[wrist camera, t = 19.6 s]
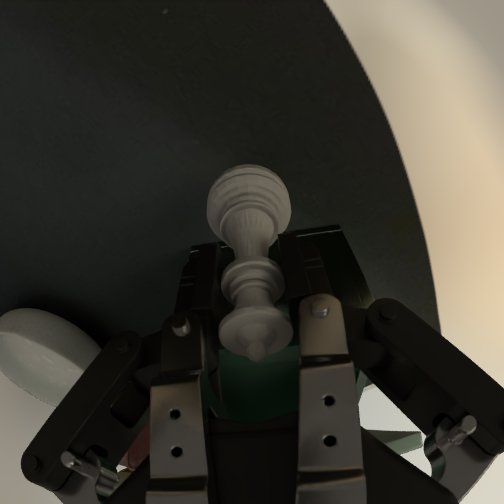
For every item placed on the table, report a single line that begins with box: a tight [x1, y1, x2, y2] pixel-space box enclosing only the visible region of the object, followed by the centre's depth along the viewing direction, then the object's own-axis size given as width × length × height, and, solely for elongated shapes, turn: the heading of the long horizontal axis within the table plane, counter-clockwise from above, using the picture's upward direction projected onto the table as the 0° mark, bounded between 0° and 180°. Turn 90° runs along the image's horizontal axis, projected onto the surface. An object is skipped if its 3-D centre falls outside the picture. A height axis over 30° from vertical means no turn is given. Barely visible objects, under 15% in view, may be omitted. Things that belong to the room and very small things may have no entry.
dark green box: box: [189, 225, 375, 424], centre depth 24 cm, size 18×12×10 cm, turn 9°
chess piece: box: [207, 164, 294, 362], centre depth 12 cm, size 4×4×10 cm
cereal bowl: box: [0, 308, 113, 407], centre depth 28 cm, size 17×17×7 cm
